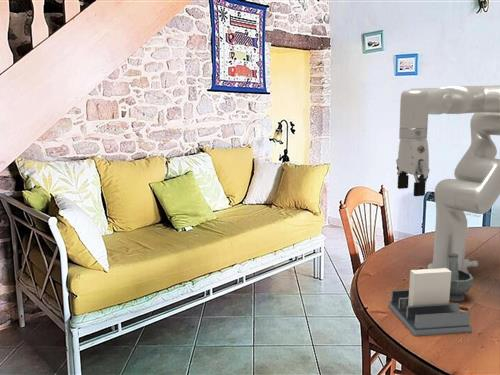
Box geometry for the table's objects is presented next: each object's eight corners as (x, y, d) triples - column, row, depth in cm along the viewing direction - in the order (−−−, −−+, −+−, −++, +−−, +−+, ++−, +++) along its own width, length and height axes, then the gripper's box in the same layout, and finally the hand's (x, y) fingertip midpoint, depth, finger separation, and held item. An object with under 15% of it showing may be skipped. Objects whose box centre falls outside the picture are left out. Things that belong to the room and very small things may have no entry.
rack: (388, 306, 126) (389, 289, 125) (438, 302, 127) (439, 286, 126) (414, 335, 110) (415, 317, 109) (471, 331, 112) (473, 313, 111)
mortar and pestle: (473, 305, 125) (477, 266, 123) (437, 302, 128) (440, 262, 126) (466, 289, 136) (470, 252, 133) (433, 286, 139) (436, 249, 136)
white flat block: (407, 312, 119) (410, 270, 117) (443, 309, 120) (446, 268, 118) (412, 316, 117) (414, 273, 114) (448, 314, 118) (451, 271, 116)
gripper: (442, 136, 119) (438, 198, 123) (410, 130, 136) (408, 185, 140) (416, 137, 118) (413, 200, 122) (387, 131, 135) (385, 186, 139)
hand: (410, 191), depth 131 cm, fingers open, 9 cm apart
